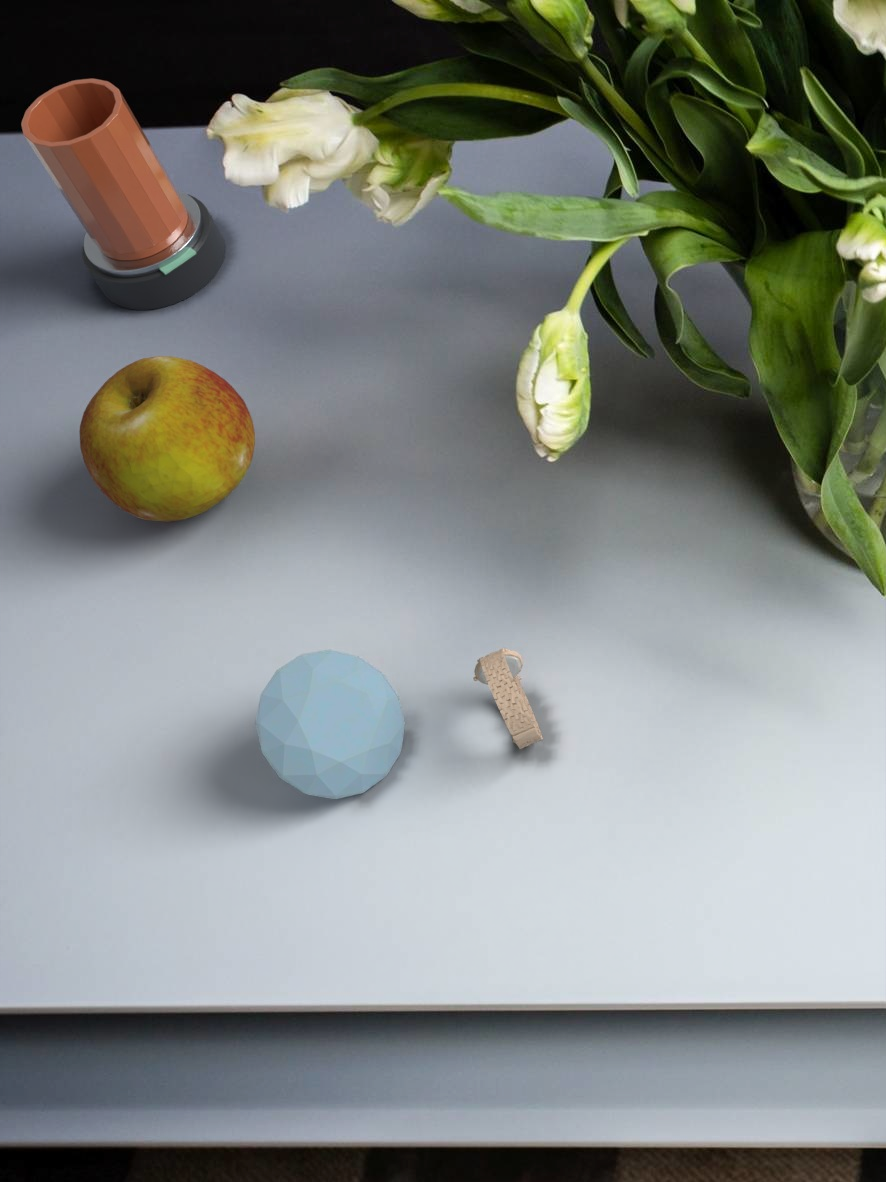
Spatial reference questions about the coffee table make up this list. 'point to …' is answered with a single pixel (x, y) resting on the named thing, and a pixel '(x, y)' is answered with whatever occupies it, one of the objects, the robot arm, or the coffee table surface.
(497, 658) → the wristwatch
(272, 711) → the gemstone
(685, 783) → the coffee table surface
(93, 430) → the fruit
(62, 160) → the cup
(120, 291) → the scale
